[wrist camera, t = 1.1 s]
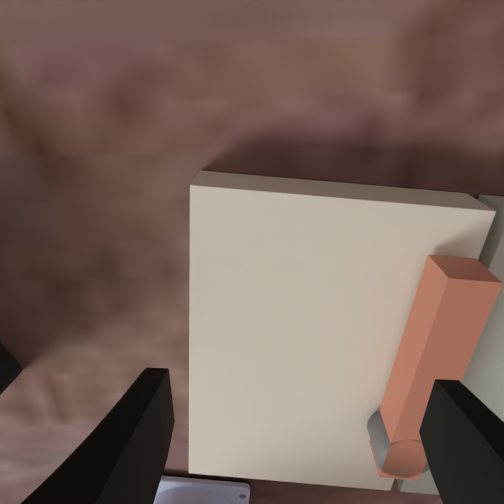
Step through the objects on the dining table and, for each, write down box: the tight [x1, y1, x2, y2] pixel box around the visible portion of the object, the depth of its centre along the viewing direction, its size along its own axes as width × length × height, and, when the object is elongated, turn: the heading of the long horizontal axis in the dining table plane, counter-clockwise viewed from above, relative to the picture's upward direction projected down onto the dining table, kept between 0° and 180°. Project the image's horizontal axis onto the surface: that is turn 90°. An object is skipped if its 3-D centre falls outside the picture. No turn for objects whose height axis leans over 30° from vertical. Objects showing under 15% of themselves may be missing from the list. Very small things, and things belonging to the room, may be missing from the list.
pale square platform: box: [189, 171, 504, 495], centre depth 19 cm, size 18×24×5 cm
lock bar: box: [367, 255, 503, 481], centre depth 17 cm, size 12×3×2 cm, turn 176°
